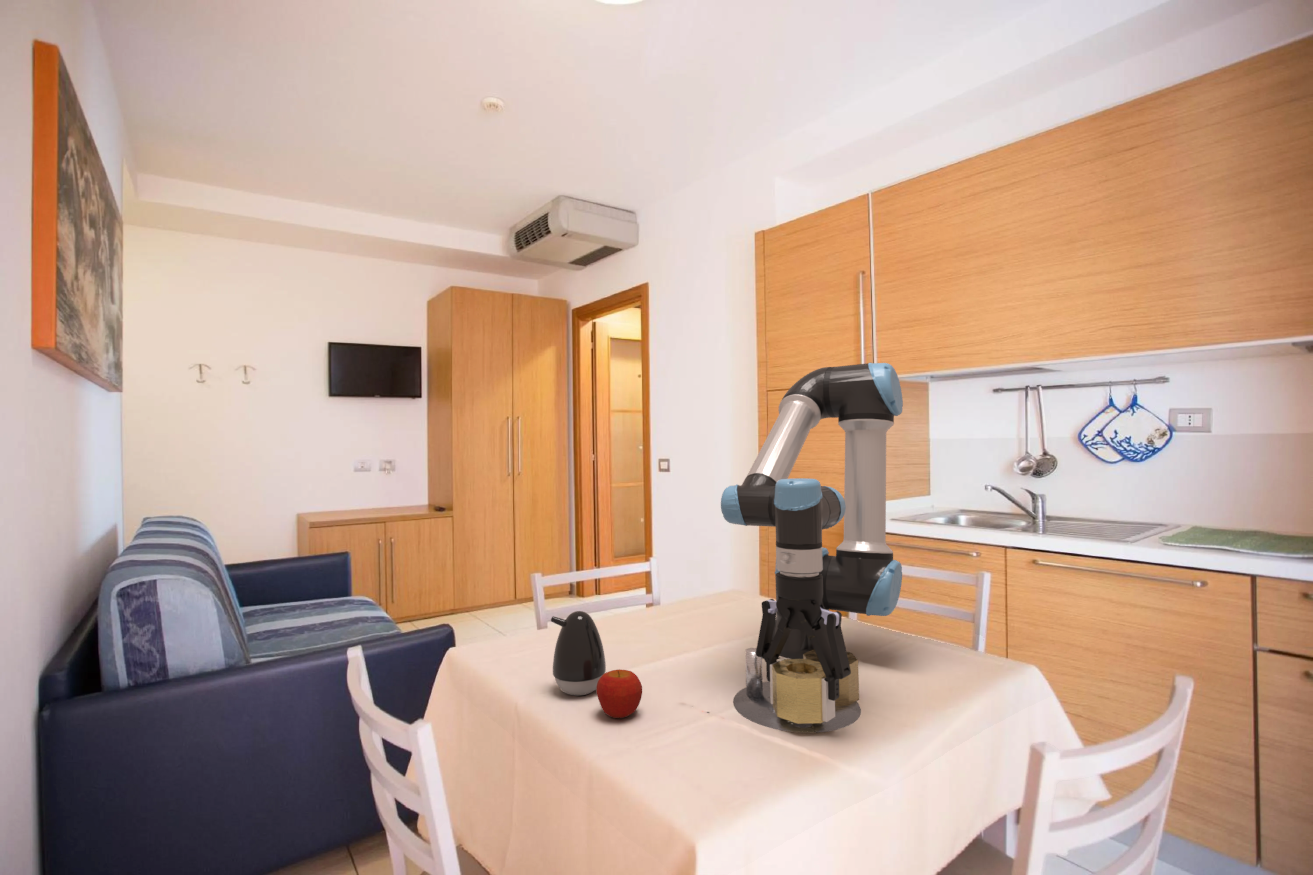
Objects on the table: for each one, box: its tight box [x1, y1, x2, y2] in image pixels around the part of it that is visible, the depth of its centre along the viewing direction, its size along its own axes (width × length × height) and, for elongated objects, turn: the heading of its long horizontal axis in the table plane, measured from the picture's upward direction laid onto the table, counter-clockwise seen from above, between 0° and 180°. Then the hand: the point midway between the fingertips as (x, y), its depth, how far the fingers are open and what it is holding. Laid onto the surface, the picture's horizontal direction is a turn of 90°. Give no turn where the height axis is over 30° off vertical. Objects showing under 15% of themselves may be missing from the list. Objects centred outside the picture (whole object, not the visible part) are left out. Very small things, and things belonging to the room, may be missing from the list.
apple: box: [596, 668, 643, 719], centre depth 108 cm, size 8×8×8 cm
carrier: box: [732, 647, 862, 734], centre depth 110 cm, size 22×22×9 cm
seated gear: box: [803, 649, 860, 706], centre depth 113 cm, size 9×9×7 cm
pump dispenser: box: [550, 610, 607, 697], centre depth 119 cm, size 10×10×15 cm
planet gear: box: [772, 658, 826, 724], centre depth 102 cm, size 9×9×7 cm
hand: (802, 709), depth 102 cm, fingers closed on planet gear, 9 cm apart
